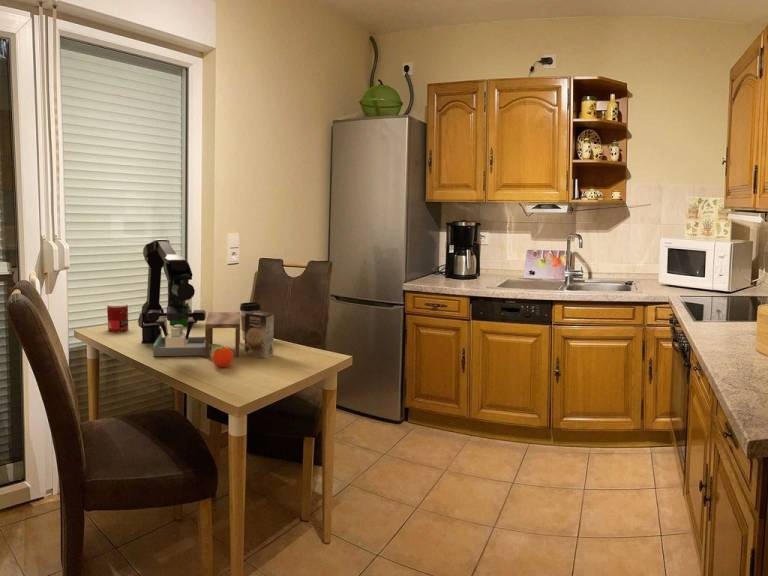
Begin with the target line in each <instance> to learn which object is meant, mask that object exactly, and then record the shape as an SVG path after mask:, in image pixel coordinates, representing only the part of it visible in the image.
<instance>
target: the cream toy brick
mask: <svg viewBox="0 0 768 576" xmlns="http://www.w3.org/2000/svg"><path fill="white" fill-rule="evenodd" d="M186 334H187V330H186V331H185V330H184V326H183V325H173V327H172V328H171V329H170V331H169V332H168V335H167V336H166V337H165V336H164V337H165V347H166V348H184V347H185V345H186V344H187V342H188V340H186Z"/></svg>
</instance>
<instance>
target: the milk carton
mask: <svg viewBox="0 0 768 576" xmlns="http://www.w3.org/2000/svg"><path fill="white" fill-rule="evenodd" d="M190 284H191V285H192V286H193V283H190ZM186 306H188V308H189V313H193V297H192V298H191V299H189V300H186ZM188 320H189V318H182V320H181V321H169V326H174V325H183V327H185V326H188Z"/></svg>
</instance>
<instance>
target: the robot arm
mask: <svg viewBox="0 0 768 576" xmlns="http://www.w3.org/2000/svg"><path fill="white" fill-rule="evenodd" d="M142 255H143V257H144V261H145V262H146V264H147V266H148V270H147V271H148V272H147V291H146V301H145V303H144V304H143V305H142V306H141V312H140V313H139V316H138V320H137V323H138V327H140V329H141V337H142V338H141V344H147V343H148V344H151V343H152V344H154V343H155V341H156V340H157V338H158V336H159V335H162V336H163V335H164V337H166V336H167V335H168V334H169V330H168V322H170V321H181V320H182V318H189V320H188V325H186V326H187V327H186V331H187V334H186V340H188V337H190V334H191V330H192V327H193V326H194V324H197V323H198V322H203V321H205V322H206V319H207V316H206V314H207V313H206V310H205V309H194V310H192V313H189V308H188V306H186V300H189V299H191V298H192V299H193V298H194V295H195V293H196V289H195V287H194V286H193V285H191V284H192V283H189V281H191V280H193V273H192V272H193V271H192V268H191V266H190V264H189V262H188V261H187V259H185V257H184V256H180V255H178V254H177V253H176V251H175V250H174V248H173V247H172V245H171V242H170V240H169V239H168V238H156V239H154V240H152V241H151V242H148V243H146V244H145V246H144V247H143V249H142ZM162 269H163V272H164V275H165V278H166V281H167V307H166V312H164V309H163V307H162V305H161V304H160V301H161V300H160V297H161V284H162ZM162 332H163V333H162Z"/></svg>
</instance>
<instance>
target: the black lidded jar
mask: <svg viewBox="0 0 768 576" xmlns="http://www.w3.org/2000/svg"><path fill="white" fill-rule="evenodd" d="M239 305H240V306H239V311H240V325H241V331H242V332H241V335H242V340H244V341H245V313H248V312H251V311H261V303H260V302H241V303H240V304H239Z"/></svg>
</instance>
